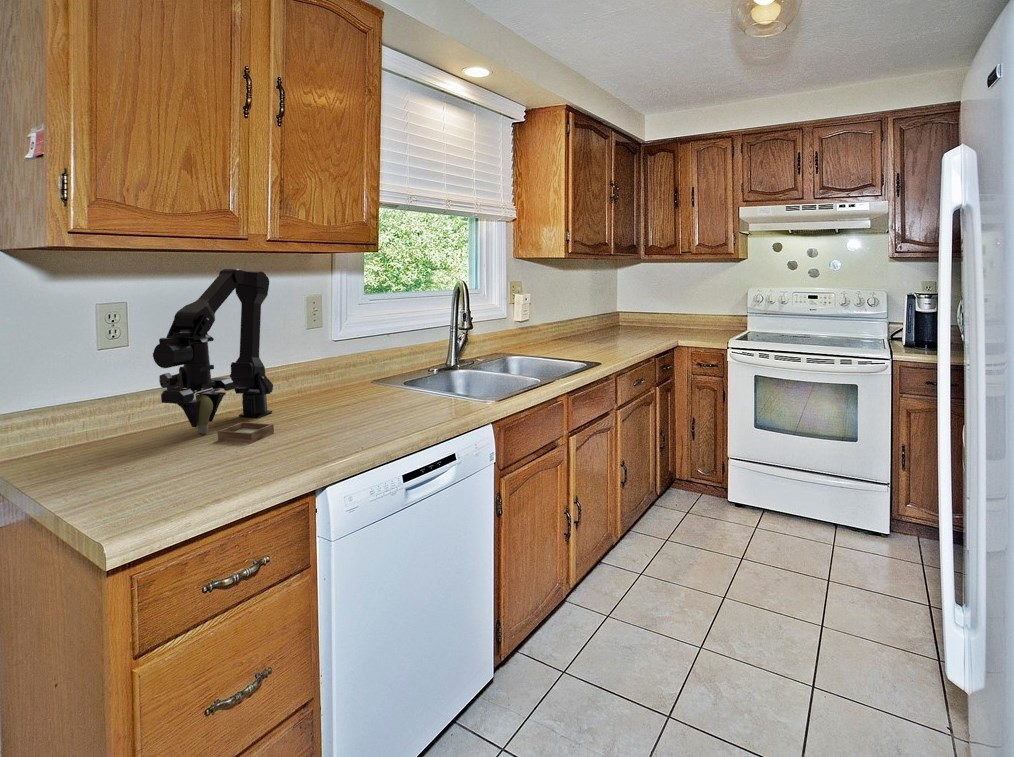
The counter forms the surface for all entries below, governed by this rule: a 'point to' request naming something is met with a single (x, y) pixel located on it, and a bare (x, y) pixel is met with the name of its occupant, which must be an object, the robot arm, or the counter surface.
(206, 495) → the counter surface
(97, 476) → the counter surface
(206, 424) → the light bulb
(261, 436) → the tray
